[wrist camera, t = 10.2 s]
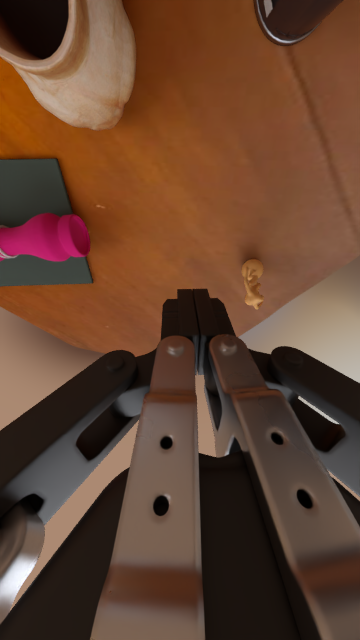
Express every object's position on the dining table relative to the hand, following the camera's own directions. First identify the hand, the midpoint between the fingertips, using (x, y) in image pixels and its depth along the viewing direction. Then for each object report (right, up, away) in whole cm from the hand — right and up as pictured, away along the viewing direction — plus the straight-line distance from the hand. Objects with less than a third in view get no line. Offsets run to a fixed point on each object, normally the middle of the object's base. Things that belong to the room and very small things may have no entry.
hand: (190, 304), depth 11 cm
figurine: (+13, +10, +31) cm, 35 cm away
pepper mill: (-16, +13, +22) cm, 30 cm away
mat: (-28, +15, +25) cm, 41 cm away
